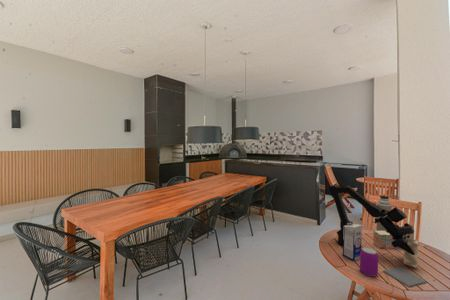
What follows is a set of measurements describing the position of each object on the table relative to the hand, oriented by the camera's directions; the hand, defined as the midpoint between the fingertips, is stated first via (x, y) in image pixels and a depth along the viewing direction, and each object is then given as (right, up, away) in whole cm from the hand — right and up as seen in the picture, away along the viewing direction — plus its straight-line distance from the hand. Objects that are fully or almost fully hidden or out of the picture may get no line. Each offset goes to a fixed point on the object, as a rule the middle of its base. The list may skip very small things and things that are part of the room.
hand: (414, 252), depth 111 cm
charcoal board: (-12, -9, -7) cm, 17 cm away
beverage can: (-28, -9, -4) cm, 29 cm away
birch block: (-1, -7, +1) cm, 7 cm away
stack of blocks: (+7, -8, +23) cm, 25 cm away
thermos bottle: (+14, -7, +41) cm, 44 cm away
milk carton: (-27, -8, +11) cm, 31 cm away
